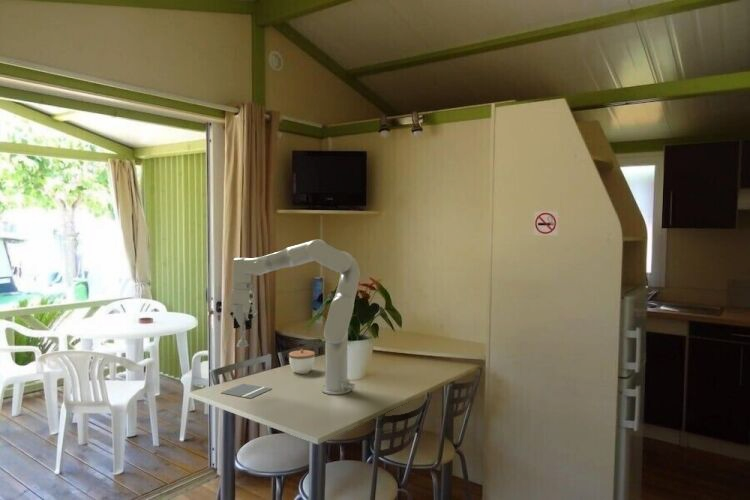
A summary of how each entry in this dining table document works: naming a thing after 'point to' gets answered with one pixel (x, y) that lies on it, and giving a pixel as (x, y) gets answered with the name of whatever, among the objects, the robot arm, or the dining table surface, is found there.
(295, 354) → the lidded bowl
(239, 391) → the mat
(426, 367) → the dining table surface
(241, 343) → the chalice
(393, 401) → the dining table surface
